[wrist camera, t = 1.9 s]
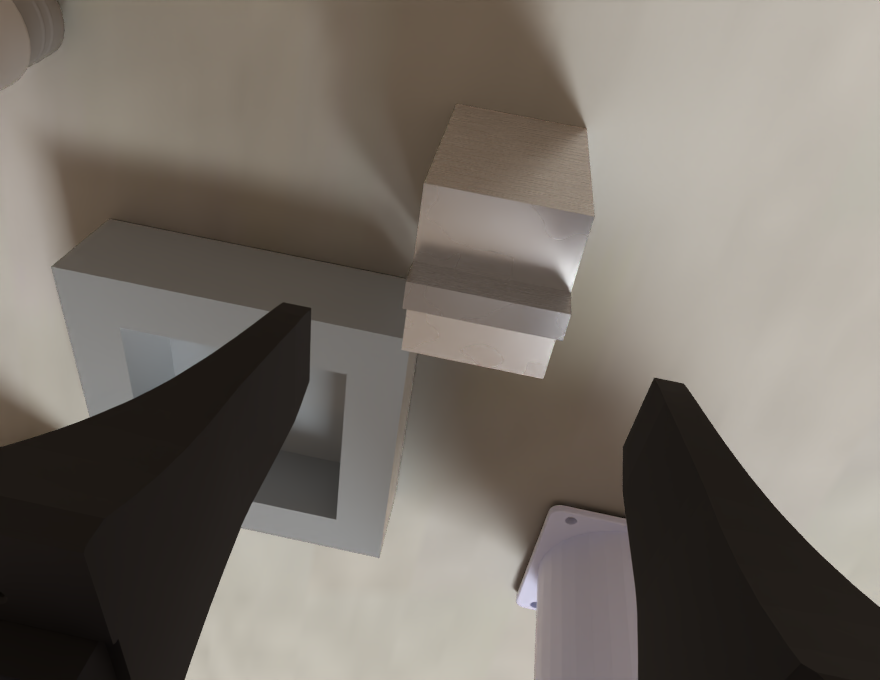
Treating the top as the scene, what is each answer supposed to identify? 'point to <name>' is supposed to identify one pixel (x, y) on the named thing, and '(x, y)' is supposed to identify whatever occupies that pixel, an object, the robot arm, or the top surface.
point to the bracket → (499, 241)
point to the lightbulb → (27, 35)
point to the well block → (226, 316)
